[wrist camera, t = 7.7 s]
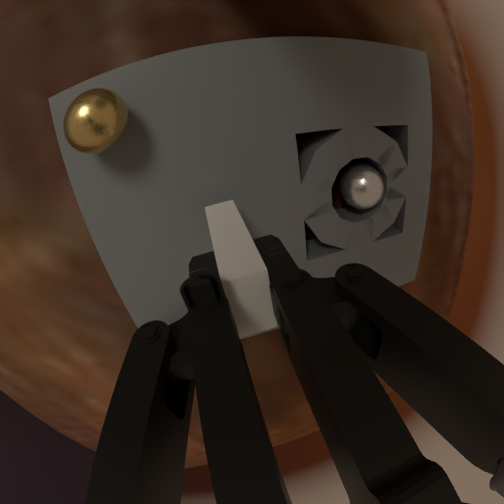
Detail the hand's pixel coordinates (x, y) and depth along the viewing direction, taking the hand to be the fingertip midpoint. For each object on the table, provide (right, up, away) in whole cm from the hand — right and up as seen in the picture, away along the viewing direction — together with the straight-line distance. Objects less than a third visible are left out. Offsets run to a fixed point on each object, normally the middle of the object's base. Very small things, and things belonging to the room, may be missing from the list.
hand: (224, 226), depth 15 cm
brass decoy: (-6, +5, -5) cm, 9 cm away
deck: (+2, +2, +4) cm, 5 cm away
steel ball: (+9, +3, +3) cm, 10 cm away
